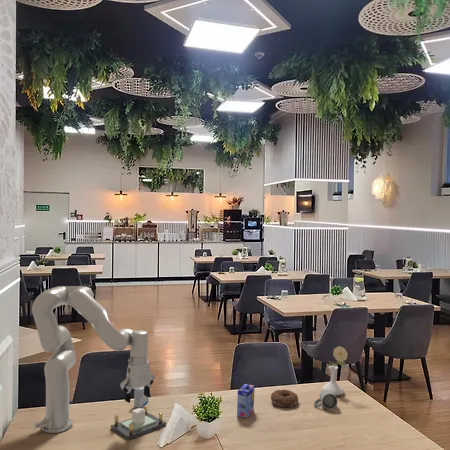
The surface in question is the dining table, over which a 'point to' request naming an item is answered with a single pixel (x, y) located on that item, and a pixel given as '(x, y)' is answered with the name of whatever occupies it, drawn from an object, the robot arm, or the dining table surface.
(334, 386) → the flower in vase
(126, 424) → the sage board
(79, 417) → the dining table surface
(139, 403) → the medicine box
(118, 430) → the chassis plate
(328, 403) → the ceramic mug
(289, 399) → the donut
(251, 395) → the ink cartridge box
